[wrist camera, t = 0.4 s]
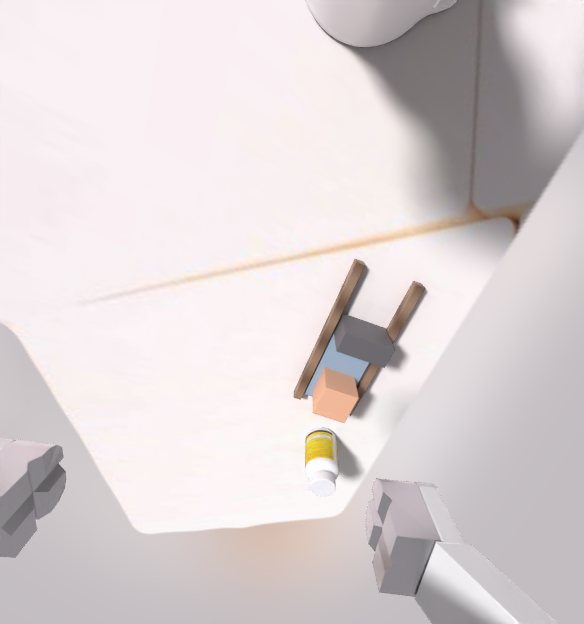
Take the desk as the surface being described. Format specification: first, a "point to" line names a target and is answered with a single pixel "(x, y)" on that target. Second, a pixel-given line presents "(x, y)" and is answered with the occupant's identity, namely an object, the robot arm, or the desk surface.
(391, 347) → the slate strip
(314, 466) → the supplement bottle
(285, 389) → the desk surface
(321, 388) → the terracotta cube
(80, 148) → the desk surface
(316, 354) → the guide rails
